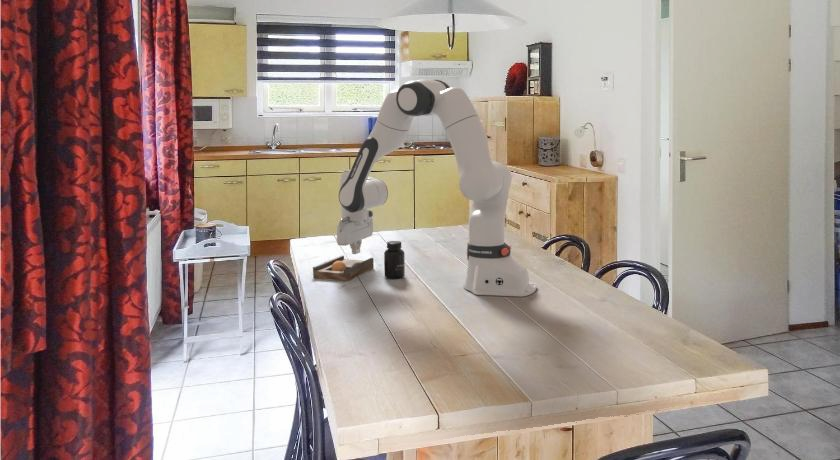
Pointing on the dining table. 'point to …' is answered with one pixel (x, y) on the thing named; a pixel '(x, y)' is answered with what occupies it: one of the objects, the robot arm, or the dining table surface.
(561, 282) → the dining table surface
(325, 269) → the lane
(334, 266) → the ball
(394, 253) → the supplement bottle
